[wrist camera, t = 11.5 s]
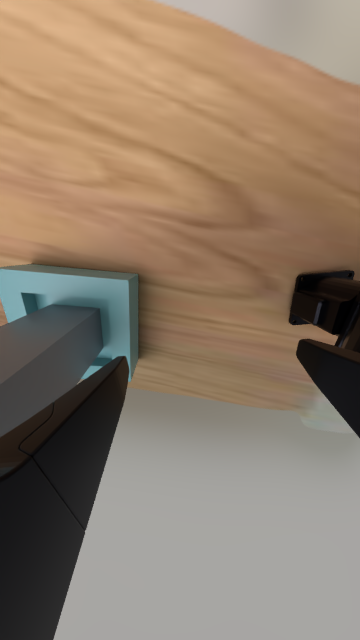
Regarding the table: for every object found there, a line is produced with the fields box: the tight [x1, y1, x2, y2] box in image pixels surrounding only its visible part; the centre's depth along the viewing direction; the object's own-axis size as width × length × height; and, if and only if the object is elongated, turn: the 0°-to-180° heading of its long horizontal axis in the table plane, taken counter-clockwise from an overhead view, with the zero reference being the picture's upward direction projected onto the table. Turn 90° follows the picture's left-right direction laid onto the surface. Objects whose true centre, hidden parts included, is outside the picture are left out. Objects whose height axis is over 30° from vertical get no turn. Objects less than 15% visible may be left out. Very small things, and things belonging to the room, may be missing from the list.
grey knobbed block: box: [0, 304, 103, 437], centre depth 13 cm, size 5×5×13 cm
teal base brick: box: [0, 264, 138, 382], centre depth 20 cm, size 12×12×4 cm
